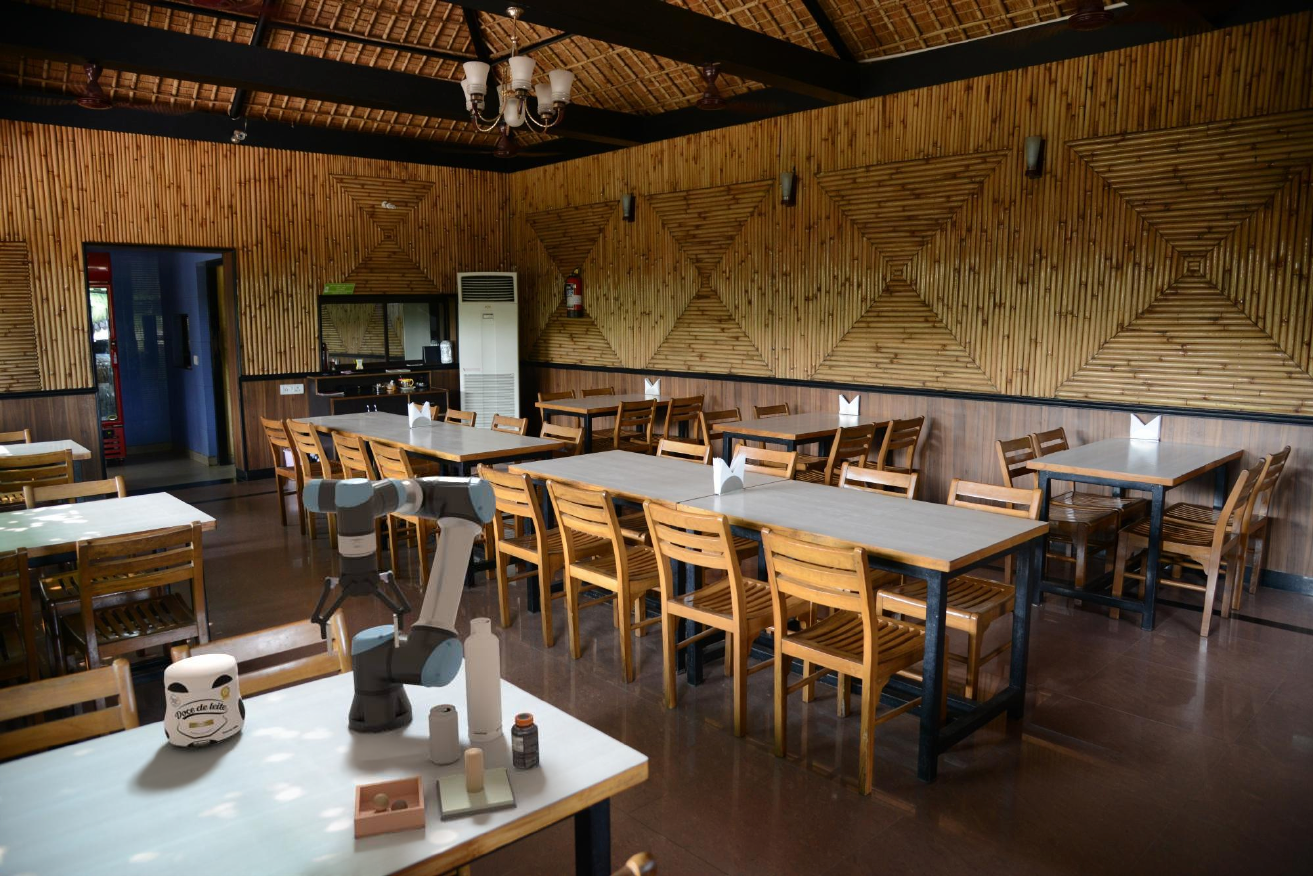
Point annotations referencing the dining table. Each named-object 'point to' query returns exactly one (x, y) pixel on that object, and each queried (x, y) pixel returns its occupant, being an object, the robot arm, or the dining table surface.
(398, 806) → the ball walnut
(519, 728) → the pill bottle
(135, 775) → the dining table surface
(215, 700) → the doce de leite tub
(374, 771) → the dining table surface
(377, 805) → the ball beech
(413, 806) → the dish
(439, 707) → the beverage can
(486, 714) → the bottle
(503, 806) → the mat
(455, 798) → the lid
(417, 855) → the dining table surface
